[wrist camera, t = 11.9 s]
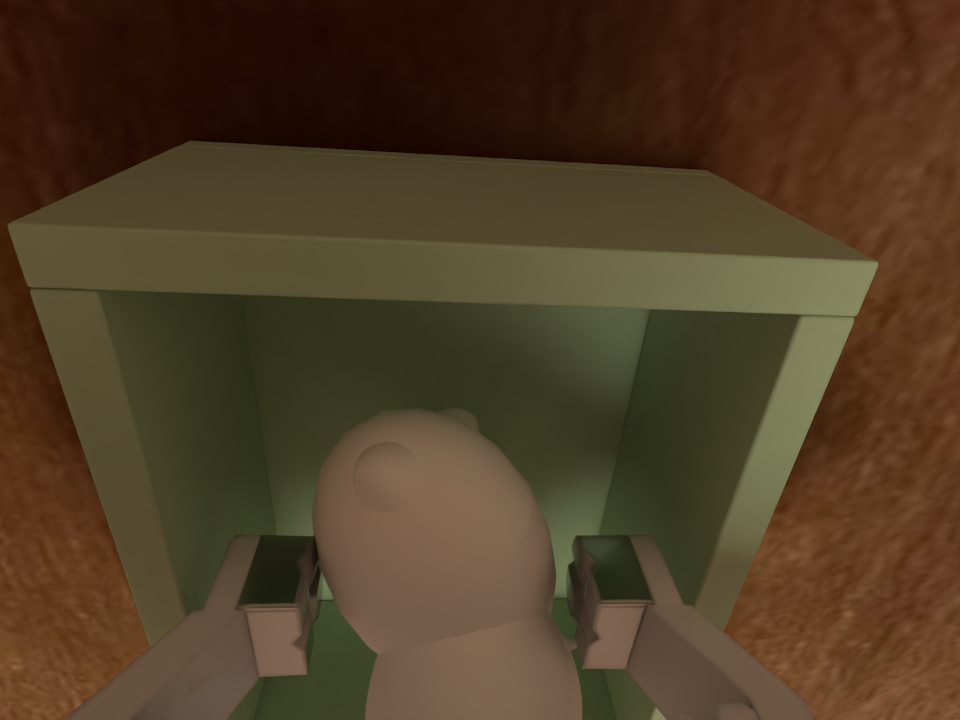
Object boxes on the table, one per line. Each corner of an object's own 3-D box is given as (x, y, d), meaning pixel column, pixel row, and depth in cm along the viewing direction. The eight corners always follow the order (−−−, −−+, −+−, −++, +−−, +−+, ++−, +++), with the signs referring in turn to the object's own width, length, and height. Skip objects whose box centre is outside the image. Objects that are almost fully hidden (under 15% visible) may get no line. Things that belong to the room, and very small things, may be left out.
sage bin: (188, 139, 11) (3, 222, 7) (707, 169, 12) (882, 261, 8) (266, 601, 18) (204, 811, 13) (600, 597, 19) (655, 793, 14)
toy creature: (406, 626, 16) (388, 950, 10) (272, 382, 12) (125, 697, 6) (574, 586, 15) (651, 899, 10) (496, 320, 11) (550, 596, 6)
